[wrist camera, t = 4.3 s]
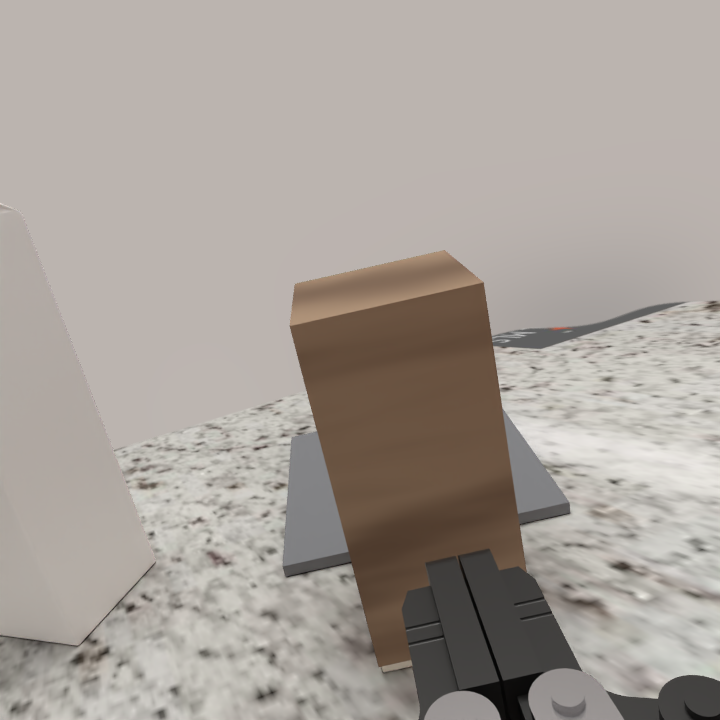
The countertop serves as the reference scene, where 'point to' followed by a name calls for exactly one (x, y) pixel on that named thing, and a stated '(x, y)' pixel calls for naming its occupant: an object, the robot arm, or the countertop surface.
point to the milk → (55, 469)
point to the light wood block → (407, 426)
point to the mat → (321, 518)
